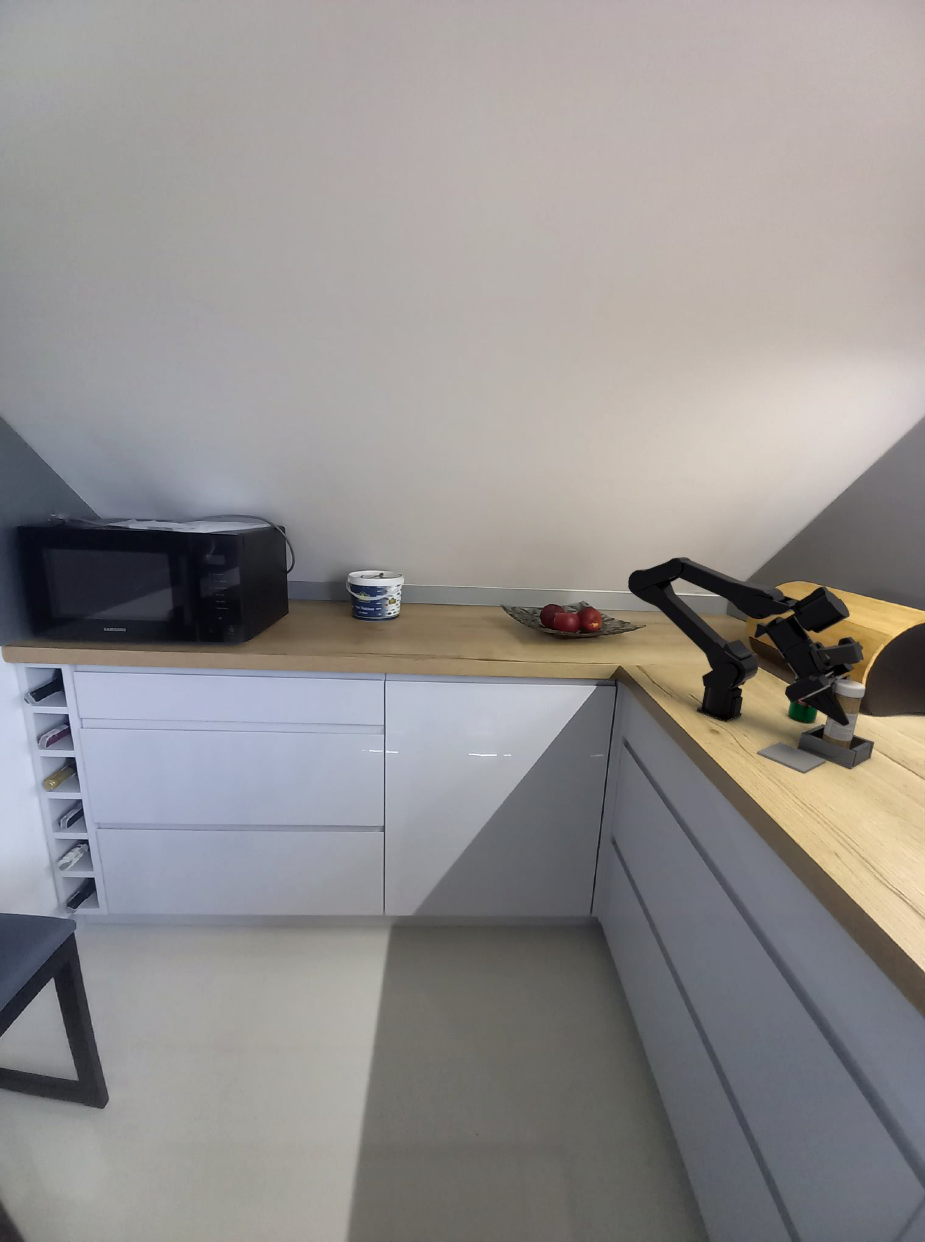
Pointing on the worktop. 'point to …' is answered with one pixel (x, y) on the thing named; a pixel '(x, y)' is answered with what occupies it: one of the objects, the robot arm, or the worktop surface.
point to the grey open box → (835, 748)
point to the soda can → (802, 711)
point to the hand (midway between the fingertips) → (850, 721)
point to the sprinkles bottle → (850, 702)
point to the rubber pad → (791, 757)
